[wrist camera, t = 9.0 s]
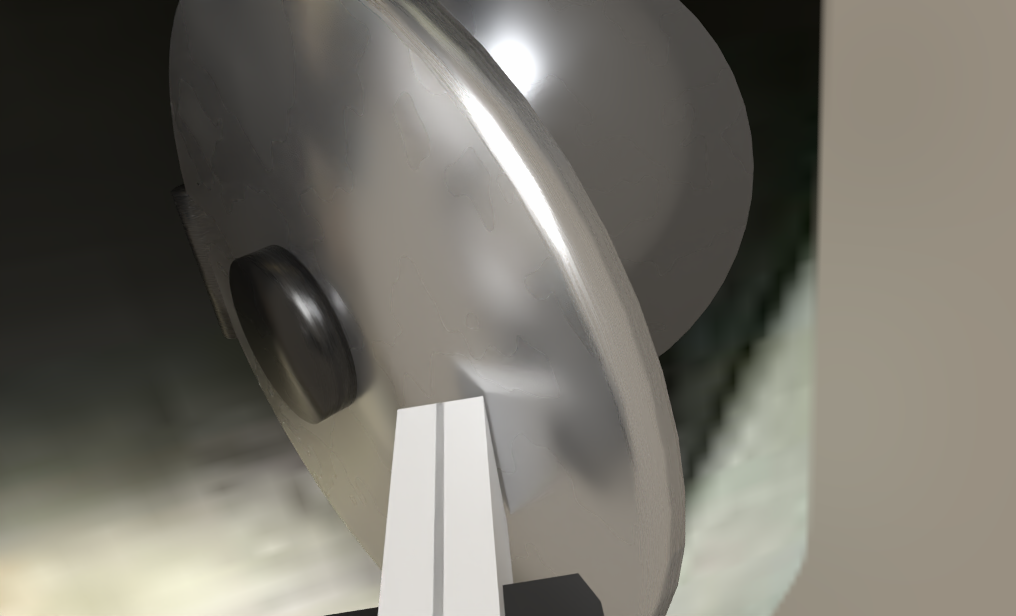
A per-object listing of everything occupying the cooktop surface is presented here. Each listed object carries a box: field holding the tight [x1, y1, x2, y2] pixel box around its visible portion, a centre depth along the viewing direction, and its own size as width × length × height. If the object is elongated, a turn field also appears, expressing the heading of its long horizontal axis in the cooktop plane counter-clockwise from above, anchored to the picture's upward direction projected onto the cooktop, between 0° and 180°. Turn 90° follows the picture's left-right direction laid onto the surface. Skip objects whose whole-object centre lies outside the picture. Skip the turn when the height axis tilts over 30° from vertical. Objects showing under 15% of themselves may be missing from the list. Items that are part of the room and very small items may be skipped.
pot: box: [436, 0, 754, 357], centre depth 27 cm, size 14×21×10 cm, turn 9°
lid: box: [169, 0, 685, 616], centre depth 17 cm, size 16×16×2 cm
